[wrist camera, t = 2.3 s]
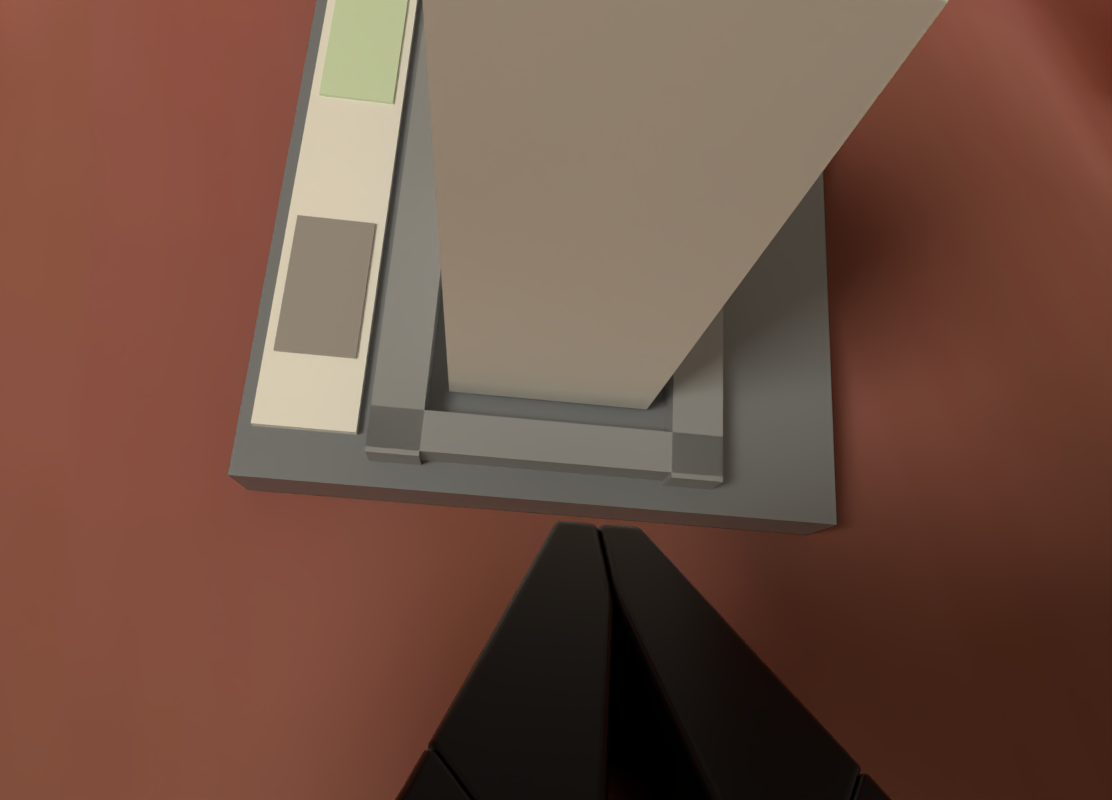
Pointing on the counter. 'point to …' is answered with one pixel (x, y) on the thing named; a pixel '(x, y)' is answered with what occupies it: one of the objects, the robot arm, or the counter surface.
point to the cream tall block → (629, 170)
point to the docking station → (486, 420)
